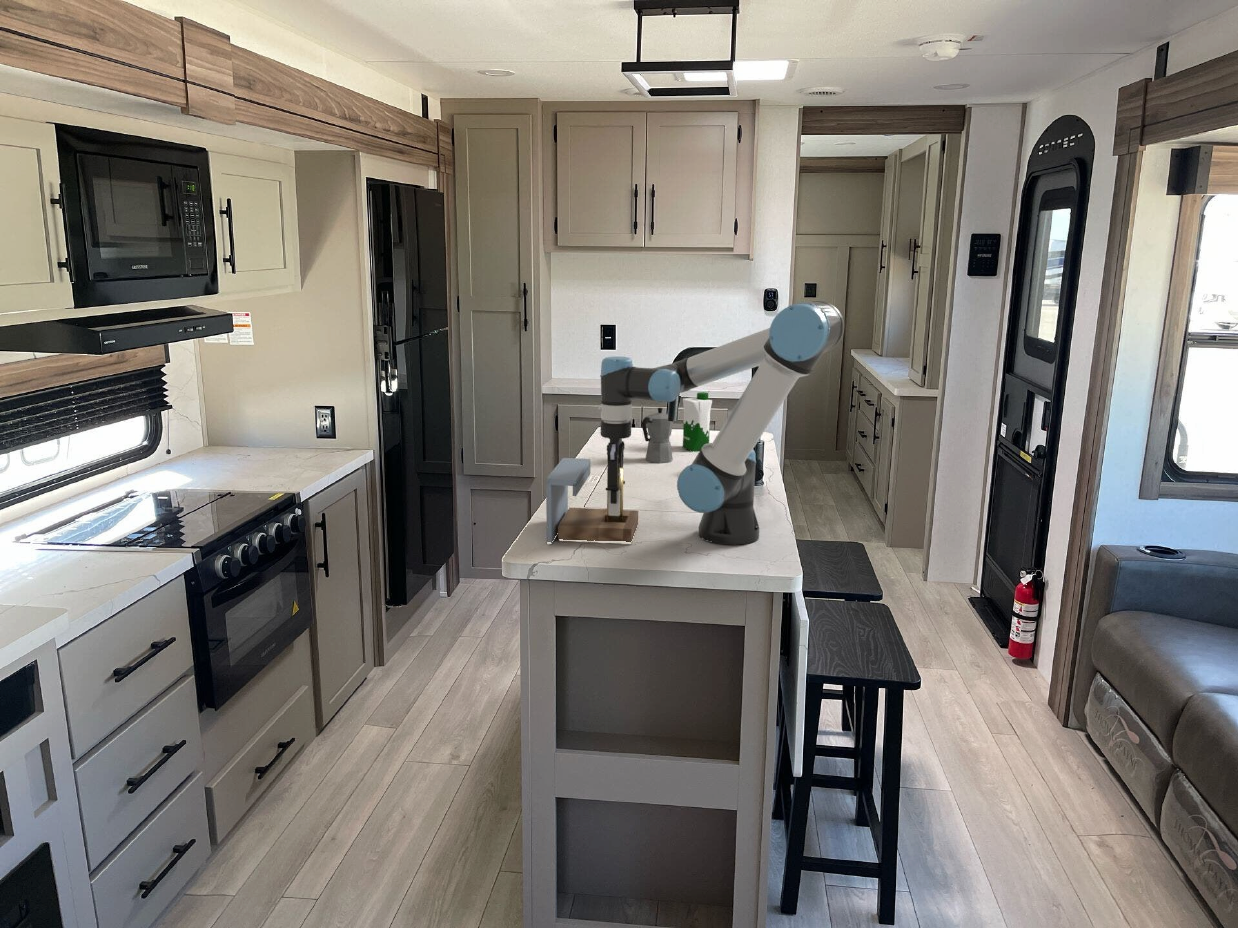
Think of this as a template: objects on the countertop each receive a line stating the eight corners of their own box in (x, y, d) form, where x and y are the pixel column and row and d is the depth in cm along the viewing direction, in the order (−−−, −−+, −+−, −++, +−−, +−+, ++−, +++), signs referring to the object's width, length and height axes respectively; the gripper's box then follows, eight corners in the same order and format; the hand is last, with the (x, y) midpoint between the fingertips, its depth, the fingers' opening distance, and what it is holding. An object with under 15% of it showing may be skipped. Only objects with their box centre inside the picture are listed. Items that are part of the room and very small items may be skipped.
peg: (610, 525, 226) (611, 470, 223) (604, 521, 230) (604, 467, 227) (625, 523, 228) (626, 469, 225) (618, 519, 231) (619, 465, 228)
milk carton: (712, 450, 324) (714, 394, 319) (690, 452, 320) (692, 396, 316) (700, 445, 332) (702, 391, 327) (678, 447, 328) (680, 392, 323)
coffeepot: (661, 454, 316) (662, 403, 312) (682, 459, 310) (683, 407, 306) (631, 462, 305) (631, 409, 301) (652, 466, 299) (653, 412, 295)
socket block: (638, 525, 237) (638, 510, 236) (631, 544, 221) (631, 529, 220) (569, 522, 239) (569, 507, 238) (558, 541, 223) (557, 525, 222)
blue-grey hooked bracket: (590, 519, 241) (590, 458, 237) (576, 546, 220) (575, 479, 216) (563, 518, 242) (563, 457, 238) (546, 544, 221) (546, 478, 217)
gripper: (605, 413, 231) (605, 502, 237) (595, 426, 215) (595, 521, 220) (635, 414, 231) (633, 503, 236) (627, 427, 214) (626, 523, 220)
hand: (615, 512), depth 228 cm, fingers closed on peg, 4 cm apart
